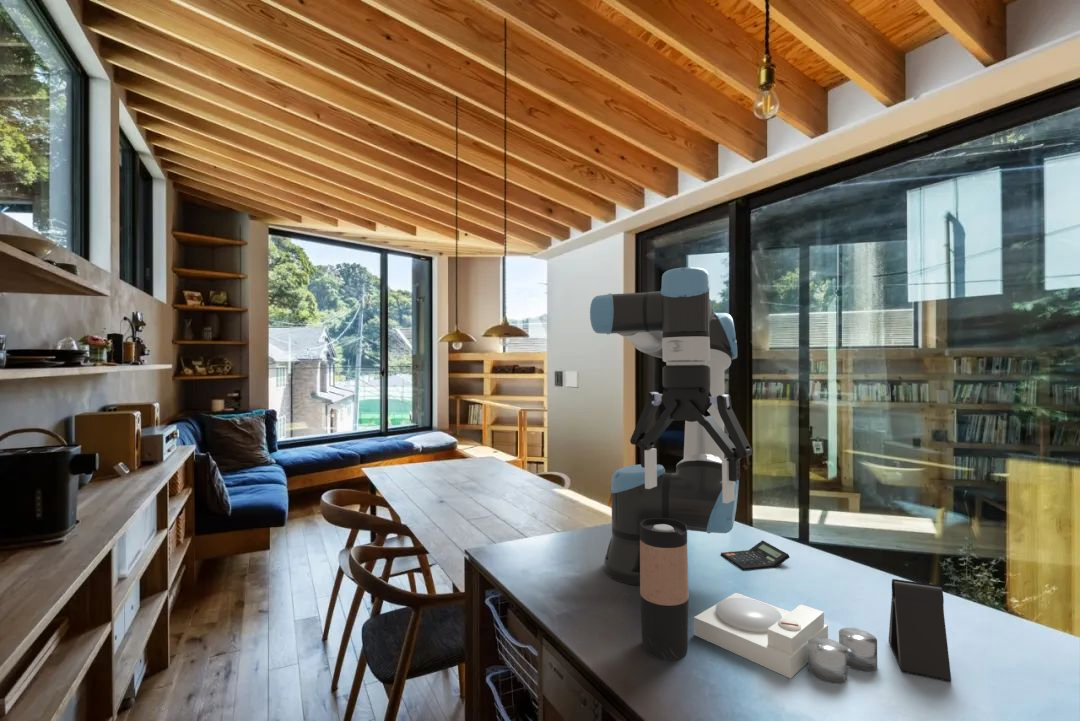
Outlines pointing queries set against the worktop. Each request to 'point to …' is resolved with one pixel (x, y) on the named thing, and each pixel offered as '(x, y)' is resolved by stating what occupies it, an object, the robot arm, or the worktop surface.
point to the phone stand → (919, 629)
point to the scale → (762, 631)
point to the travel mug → (664, 588)
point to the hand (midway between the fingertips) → (687, 494)
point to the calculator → (757, 557)
